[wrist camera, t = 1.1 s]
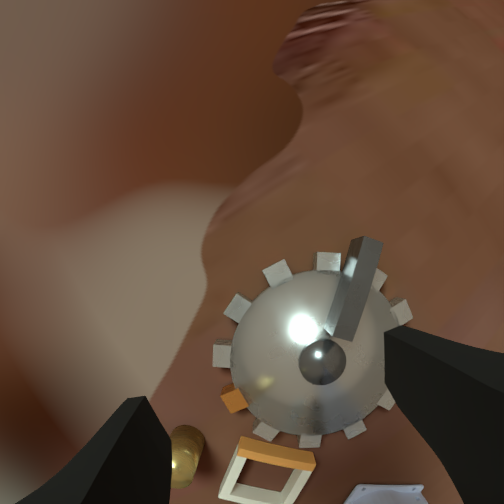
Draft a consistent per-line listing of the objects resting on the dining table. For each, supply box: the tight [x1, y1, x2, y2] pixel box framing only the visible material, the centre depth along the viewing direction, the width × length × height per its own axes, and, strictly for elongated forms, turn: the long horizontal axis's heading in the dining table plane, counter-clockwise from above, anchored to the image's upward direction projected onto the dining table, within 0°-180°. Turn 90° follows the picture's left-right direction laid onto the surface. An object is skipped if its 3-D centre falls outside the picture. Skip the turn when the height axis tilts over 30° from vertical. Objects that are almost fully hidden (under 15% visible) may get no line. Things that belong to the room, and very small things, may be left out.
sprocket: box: [213, 236, 413, 448], centre depth 22 cm, size 16×18×5 cm
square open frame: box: [218, 436, 316, 504], centre depth 23 cm, size 7×7×2 cm
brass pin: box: [170, 425, 205, 488], centre depth 21 cm, size 3×3×6 cm
